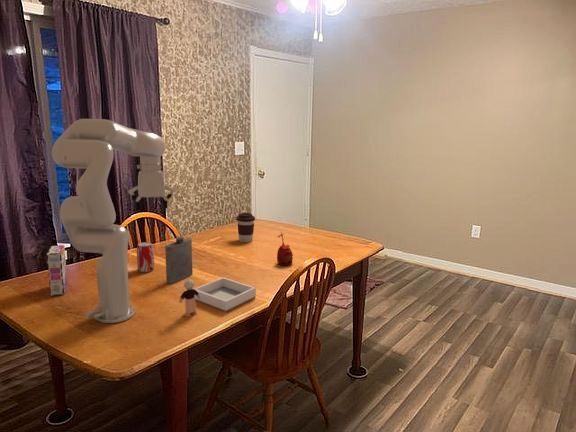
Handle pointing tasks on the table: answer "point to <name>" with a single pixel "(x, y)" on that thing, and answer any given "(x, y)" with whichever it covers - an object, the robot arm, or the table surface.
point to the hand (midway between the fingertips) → (152, 210)
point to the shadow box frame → (225, 294)
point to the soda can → (145, 257)
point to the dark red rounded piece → (284, 254)
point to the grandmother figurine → (189, 298)
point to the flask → (178, 260)
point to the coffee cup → (245, 227)
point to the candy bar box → (57, 270)
